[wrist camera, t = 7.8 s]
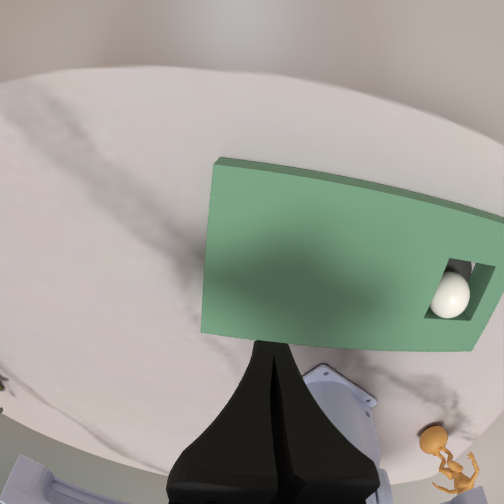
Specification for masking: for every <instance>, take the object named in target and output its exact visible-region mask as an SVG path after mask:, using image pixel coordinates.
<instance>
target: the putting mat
mask: <svg viewBox="0 0 504 504" xmlns="http://www.w3.org/2000/svg"><path fill="white" fill-rule="evenodd" d="M471 262H475V263H476V265H475V267H474V270H473V272H472V275H471V271H472V266H471ZM444 272H455V273H458V274H460V275H461V276H462V277H463V278H464V279H465V280H466V282H467V283H468V286H469V290H470V298H469V302H468V305H467V307H466V308H465V310H464V311H463V312H462V313H461V314H459V315H458V316H456V317H453V318H442V317H440V316H438V315H436V314H435V313H434V312H433V311H432V310H431V308H430V306H429V305H430V303H431V301H432V299H433V296H434V294H435V292H436V290H437V287H438V285H439V282H440V280H441V278H442V275H443V273H444ZM470 276H471V277H470ZM468 281H469V282H468ZM503 292H504V218H503V217H500V216H497V215H494V214H491V213H487V212H484V211H481V210H478V209H474V208H471V207H468V206H464V205H461V204H457V203H454V202H450V201H446V200H443V199H439V198H435V197H432V196H428V195H424V194H420V193H416V192H412V191H408V190H404V189H399V188H395V187H391V186H387V185H382V184H378V183H373V182H368V181H364V180H359V179H354V178H349V177H344V176H339V175H334V174H328V173H323V172H317V171H312V170H306V169H300V168H294V167H287V166H281V165H274V164H268V163H261V162H253V161H246V160H238V159H230V158H221V157H219V159H218V160H217V161H216V162H215V163H214V164H213V173H212V184H211V194H210V205H209V216H208V228H207V240H206V254H205V268H204V282H203V299H202V317H201V333H207V334H214V335H221V336H228V337H235V338H242V339H250V340H262V341H271V342H280V343H287V344H295V345H305V346H317V347H329V348H344V349H360V350H381V351H415V352H459V351H472V349H473V348H474V346H475V344H476V343H477V341H478V339H479V337H480V336H481V334H482V332H483V330H484V329H485V327H486V325H487V323H488V321H489V319H490V317H491V316H492V314H493V312H494V310H495V308H496V306H497V304H498V302H499V300H500V298H501V296H502V294H503Z"/></svg>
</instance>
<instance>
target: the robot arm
mask: <svg viewBox="0 0 504 504" xmlns="http://www.w3.org/2000/svg"><path fill="white" fill-rule="evenodd" d="M377 403H378V402H377V399H375V398H374V397H372V396H371V395H369V394H368V393H366V392H365V391H363V390H362V389H360V388H359V387H357V386H356V385H354V384H353V383H351V382H350V381H348V380H347V379H345V378H344V377H342V376H341V375H340V374H338V373H337V372H335V371H334V370H332V369H331V368H329V367H328V366H326V365H320V366H318V367H317V368H315V369H314V370H312V371H311V372H309V373H308V374H306V375H305V376H303V377H302V376H301V374H300V372H299V370H298V367H297V365H296V363H295V361H294V358H293V356H292V353H291V351H290V348H289V345H288V344H287V343H280V342H271V341H262V340H256V341H255V342H254V346H253V352H252V357H251V359H250V362H249V365H248V367H247V369H246V371H245V374H244V376H243V378H242V380H241V381H240V383H239V385H238V387H237V389H236V390H235V392H234V394H233V395H232V397H231V398H230V400H229V401H228V403H227V404H226V406H225V407H224V408H223V410H222V411H221V412H220V414H219V415H218V416H217V417H216V419H215V420H214V421H213V422H212V423H211V424H210V426H209V427H208V428H207V429H206V430H205V431H204V432H203V433H202V434H201V435H200V436H199V437H198V438H197V439H196V440H195V441H194V442H193V443H192V444H190V445H189V446H188V447H187V448H186V449H185V450H184V451H183V452H182V453H181V455H180V456H179V458H178V459H177V461H176V462H175V464H174V466H173V467H172V469H171V471H170V474H169V476H168V481H167V486H166V491H167V495H168V498H169V504H393V498H392V492H391V487H390V483H389V479H388V475H387V472H386V471H385V470H384V469H382V468H380V467H379V463H380V459H381V447H380V443H379V439H378V435H377V431H376V427H375V422H374V418H373V415H372V411H371V408H372V407H374V406H375V405H377ZM0 502H1V503H2V504H131V503H128V502H124V501H121V500H117V499H114V498H111V497H108V496H105V495H102V494H99V493H96V492H93V491H91V490H88V489H85V488H83V487H80V486H77V485H75V484H72V483H70V482H68V481H65V480H63V479H60V478H58V477H56V476H54V475H53V473H52V472H51V471H50V470H49V469H48V468H47V467H45V466H43V465H42V464H40V463H38V462H36V461H34V460H32V459H30V458H28V457H26V456H24V455H19V457H18V459H17V461H16V463H15V465H14V467H13V469H12V471H11V474H10V476H9V478H8V480H7V483H6V485H5V487H4V489H3V491H2V494H1V496H0ZM441 504H487V500H486V497H485V494H484V491H483V487H482V486H479V487H476V488H473V489H470V490H467V491H465V492H462V493H460V494H459V495H457V496H456V497H454V498H453V499H452V500H451V501H448V502H445V503H441Z"/></svg>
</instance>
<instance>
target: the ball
mask: <svg viewBox="0 0 504 504" xmlns="http://www.w3.org/2000/svg"><path fill="white" fill-rule="evenodd" d="M469 298H470V290H469V286H468V284H467V282H466V280H465V279H464V278H463V277H462V276H461V275H460V274H458V273H455V272H444V273H443V275H442V278H441V280H440V282H439V285H438V287H437V290H436V292H435V294H434V296H433V299H432V301H431V303H430V305H429V306H430V308H431V310H432V311H433V312H434V313H435V314H436V315H438V316H440V317H442V318H453V317H456V316H458V315H459V314H461V313H462V312H463V311H464V310H465V308H466V307H467V305H468V302H469Z"/></svg>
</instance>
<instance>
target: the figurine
mask: <svg viewBox="0 0 504 504" xmlns="http://www.w3.org/2000/svg"><path fill="white" fill-rule="evenodd" d="M447 440H448V435H447V432H446V430H445V429H444V428H442V427H440V426H432V427H429V428H428V429H426V430H425V431H424V432H423V433H422V435H421V437H420V441H419V444H420V448H421V449H422V451H424V452H425V453H427V454H433V455H434V456H438V457H439V458H440V459H441V460H442V462H441V464H440V467H439V472H442V473H443V474H445V475H446V476H447V477H448V478H449V479H450V480H451V479H452V478H453V479H454V488H455V489H454V490H448V489H446V488H443V487H440V486H437V485H435V484H434V483H433V485H434V486H435V487H436V488H438V489H440V490H442V491H445V492H447V493H449V494H455V493H457V494H458V495H459V494H460V493H462V492H465V491H467V490H470V489H473V487H474V481H475V479H476V477H477V475H478V472H479V468H478V466H477V463H476V461H475V459H474V455H473V454H472V452H471V453H469V454H470V455H469V454H468V456H469V457H470V458H468V459H472V463H473V466H474V469H475V473H474V474H473V476H472V477H471V479H470V478H468V477H467V476H466V475H464V474H463V473H462V470H463V467H462V466H461V465H459V464H458V463H456V462H455V461H452V460H451V459H452V458H453V455H452V454H451V452H450V451H449V450H448V449H446V448H445V445H446V443H447ZM441 450H442V451H444V452H445V453H447V454H448V455H449V456H448V459H447V465H448V466H449V467H450V468H444V467H443V466H444V465H445V464H446V461H445V458H444V457H443V456H442V455H441V454H440V451H441Z"/></svg>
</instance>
